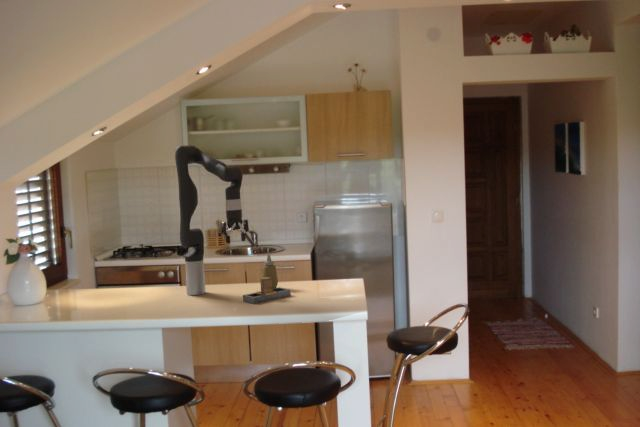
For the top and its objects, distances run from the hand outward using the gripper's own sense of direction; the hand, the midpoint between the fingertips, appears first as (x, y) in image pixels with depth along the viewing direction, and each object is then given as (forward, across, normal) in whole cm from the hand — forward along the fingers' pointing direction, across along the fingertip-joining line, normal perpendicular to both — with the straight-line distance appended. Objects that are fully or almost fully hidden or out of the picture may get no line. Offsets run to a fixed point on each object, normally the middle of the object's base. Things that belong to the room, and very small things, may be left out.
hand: (235, 242), depth 337 cm
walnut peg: (+28, -10, +9) cm, 31 cm away
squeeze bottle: (+28, -24, -7) cm, 38 cm away
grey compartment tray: (+28, -10, +9) cm, 31 cm away
